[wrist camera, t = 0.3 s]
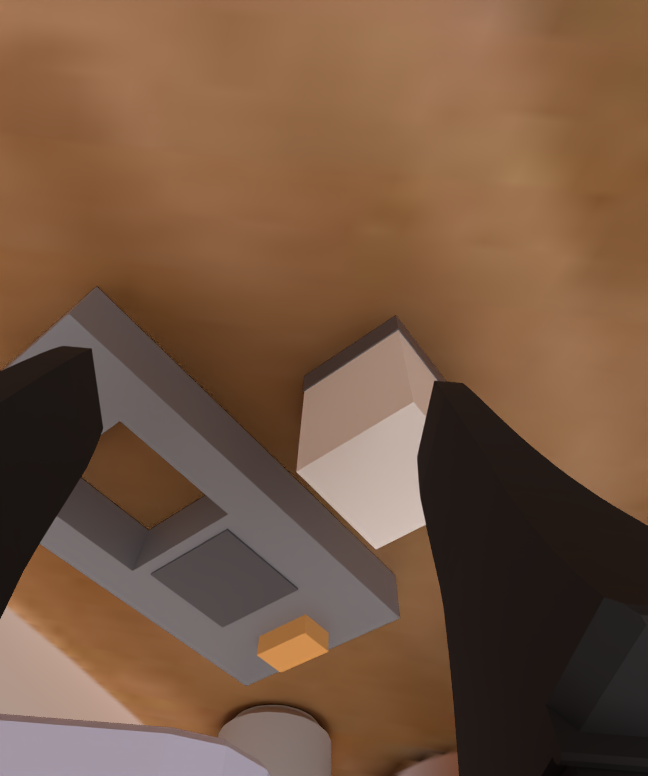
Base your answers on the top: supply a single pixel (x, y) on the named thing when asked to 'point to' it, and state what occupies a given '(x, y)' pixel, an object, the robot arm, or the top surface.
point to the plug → (369, 431)
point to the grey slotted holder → (211, 520)
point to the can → (281, 740)
